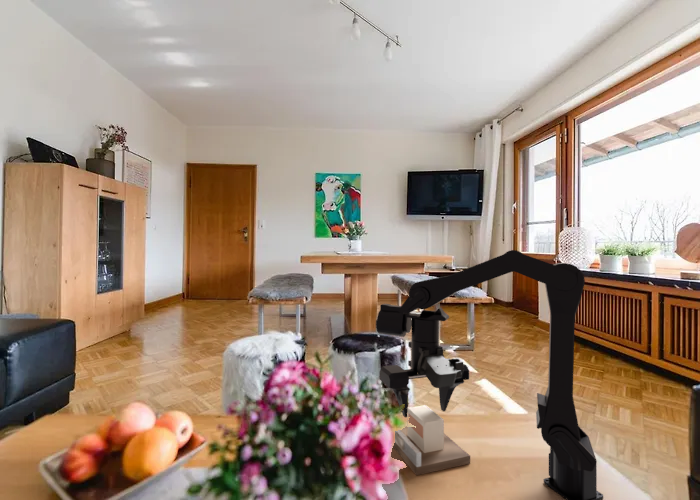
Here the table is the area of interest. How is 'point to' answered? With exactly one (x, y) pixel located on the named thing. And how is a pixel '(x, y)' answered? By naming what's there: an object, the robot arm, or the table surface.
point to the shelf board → (429, 454)
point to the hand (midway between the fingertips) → (424, 413)
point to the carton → (426, 428)
